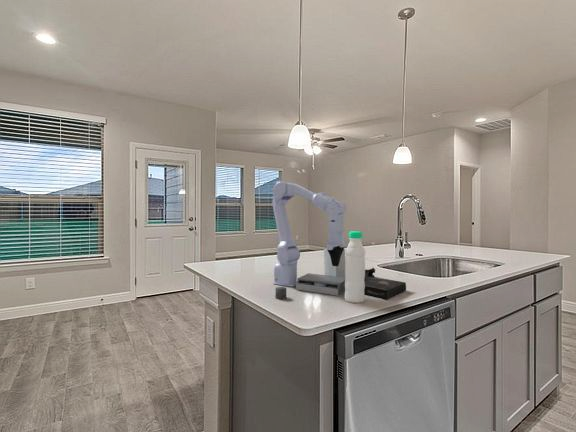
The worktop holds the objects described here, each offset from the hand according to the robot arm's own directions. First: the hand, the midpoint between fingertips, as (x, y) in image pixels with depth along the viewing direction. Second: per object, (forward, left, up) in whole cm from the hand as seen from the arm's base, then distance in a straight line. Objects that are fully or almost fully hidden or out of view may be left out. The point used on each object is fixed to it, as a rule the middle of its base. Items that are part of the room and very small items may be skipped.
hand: (335, 265), depth 125 cm
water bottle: (+10, -7, -11) cm, 16 cm away
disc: (-6, 0, -9) cm, 11 cm away
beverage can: (+3, +23, -11) cm, 26 cm away
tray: (-6, +1, -10) cm, 12 cm away
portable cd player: (+14, +10, -11) cm, 21 cm away
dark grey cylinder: (-15, -17, -10) cm, 25 cm away
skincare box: (-6, +16, -11) cm, 20 cm away
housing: (-6, +2, -10) cm, 12 cm away
